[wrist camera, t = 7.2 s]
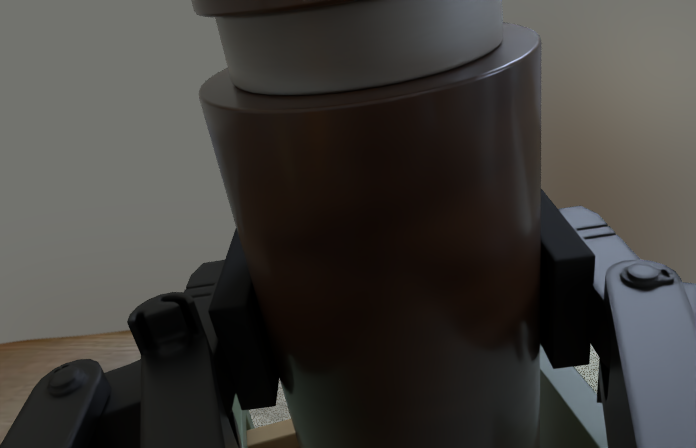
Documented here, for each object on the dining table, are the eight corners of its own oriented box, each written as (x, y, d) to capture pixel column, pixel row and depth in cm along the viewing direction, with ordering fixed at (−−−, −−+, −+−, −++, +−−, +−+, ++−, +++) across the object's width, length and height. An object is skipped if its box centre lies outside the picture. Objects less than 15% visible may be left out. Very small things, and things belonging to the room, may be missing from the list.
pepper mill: (491, 521, 22) (442, -293, 10) (577, 705, 16) (666, -550, 5) (342, 565, 21) (119, -248, 10) (381, 770, 16) (-8, -486, 4)
